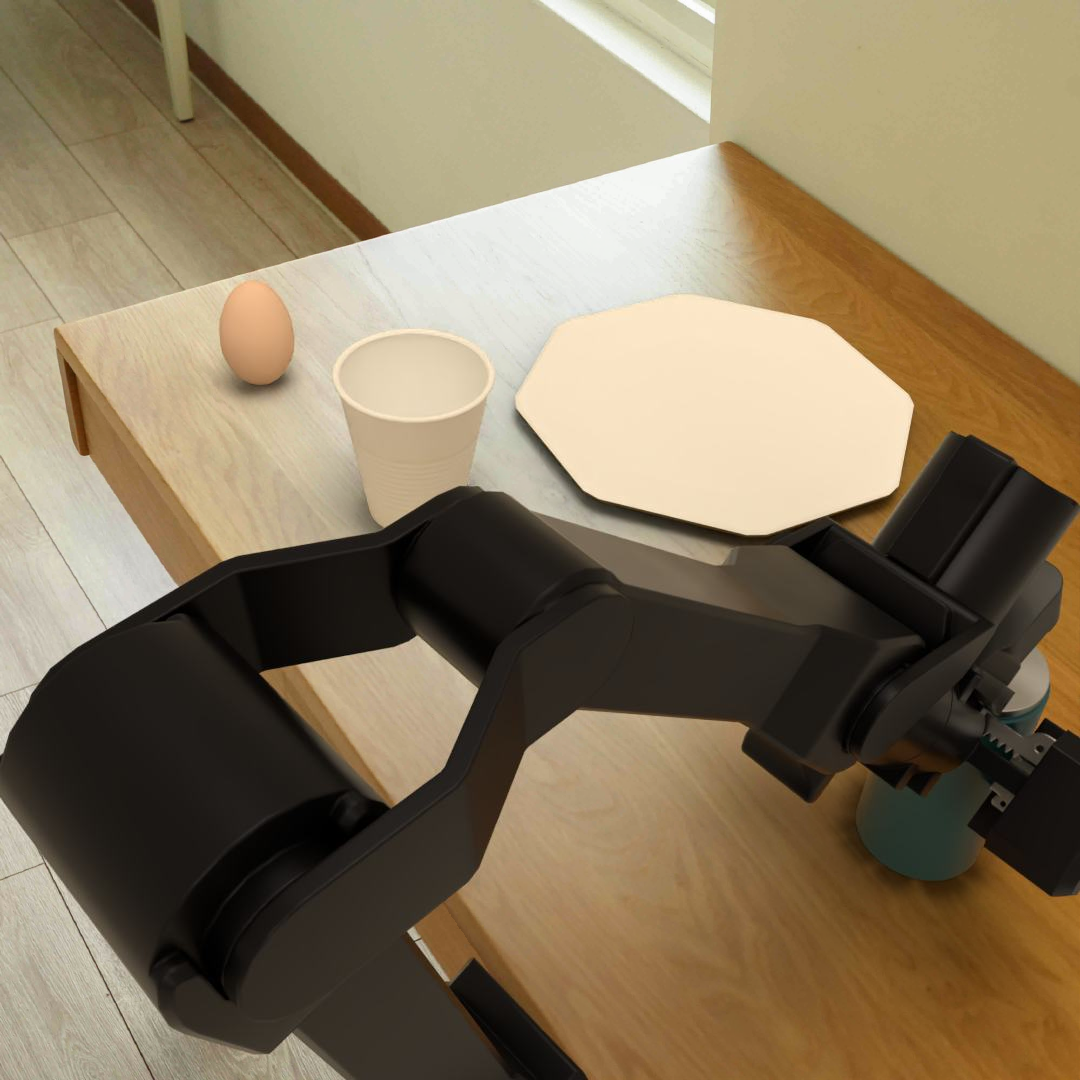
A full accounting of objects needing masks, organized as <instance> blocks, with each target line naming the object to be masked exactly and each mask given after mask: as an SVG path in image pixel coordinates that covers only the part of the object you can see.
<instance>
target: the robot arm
mask: <svg viewBox="0 0 1080 1080" xmlns="http://www.w3.org/2000/svg"><path fill="white" fill-rule="evenodd" d="M1079 514H1080V504H1079V502H1078V501H1076V500H1075V499H1074V498H1072V497H1071V496H1069V495H1067V494H1065V493H1063V492H1061V491H1060V490H1058V489H1056V488H1054V487H1052V486H1050V485H1049V484H1047V483H1046V482H1045V481H1043V480H1042V479H1040V478H1039V477H1038V476H1036V475H1034V474H1033V473H1031V472H1029V471H1028V470H1027V469H1025V468H1024V467H1022V466H1020V465H1019V464H1018V462H1017V460H1016V459H1015V458H1014V457H1013V456H1011V455H1009V454H1008V453H1006V452H1003V450H1000V449H999V448H997V447H995V446H994V445H991V444H990V443H987V442H986V441H984V440H983V439H981V438H979V437H977V436H975V435H974V434H972V433H970V434H968V435H966V436H965V435H962V434H960V433H957V432H955V431H953V430H950V431H948V432H947V434H946V435H945V437H944V438H943V439H942V441H941V442H940V443H939V445H938V446H937V448H936V450H934V452H933V454H932V455H931V456H930V458H929V459H928V461H926V464H924V467H922V469H921V471H920V472H919V473H918V475H917V476H916V478H914V481H913V482H912V483H911V485H910V486H909V487H908V489H907V490H906V491H905V493H904V495H903V496H902V498H901V499H900V500H899V502H898V504H896V506H895V507H894V509H893V510H892V512H891V513H890V514H889V516H888V517H887V519H886V520H885V522H884V523H883V524H882V526H881V528H880V529H879V530H878V532H877V533H876V534H875V536H874V537H873V538H872V540H871V542H868V541H866V540H865V539H863V538H862V537H860V536H858V535H857V534H856V533H854V532H852V531H851V530H849V529H848V528H846V527H845V526H843V525H842V524H840V523H839V522H837V521H835V520H834V519H832V518H831V517H830V516H829V517H827V516H825V517H823V518H821V519H819V520H817V521H814V522H811V523H808V524H806V525H804V527H801V528H799V529H798V530H796V531H793V532H792V533H791V532H790V531H789V530H784V531H783V532H780V533H777V534H776V535H775V536H774V537H773V538H771V539H770V540H768V541H767V542H765V543H764V544H763V545H740V546H739V545H738V546H736V547H735V546H734V547H732V548H731V549H730V551H729V552H728V554H727V556H726V557H725V559H724V561H723V562H722V563H721V565H720V564H719V565H716V564H711V563H707V562H705V561H702V560H698V559H694V558H692V557H688V556H684V555H682V554H677V553H675V552H671V551H667V550H664V549H661V548H657V547H654V546H651V545H647V544H645V543H641V542H638V541H635V540H630V539H628V538H624V537H621V536H618V535H615V534H611V533H607V532H604V531H601V530H597V529H594V528H590V527H588V526H585V525H580V524H577V523H575V522H574V523H573V522H570V521H567V520H564V519H560V518H557V517H554V516H550V515H547V514H545V513H540V512H538V511H534V510H531V509H529V508H528V507H526V506H525V505H524V504H523V503H521V502H520V501H519V500H517V499H516V498H515V497H514V496H512V495H511V494H508V493H506V492H504V491H495V490H492V491H491V490H484V489H483V488H482V487H480V486H479V485H467V486H458V487H455V488H453V489H451V490H448V491H446V492H444V493H441V494H439V495H437V496H435V497H434V498H432V499H430V500H429V501H427V502H425V503H424V504H422V505H421V506H419V507H417V508H416V509H414V510H413V511H411V512H409V513H408V514H406V515H405V516H403V517H401V518H400V519H398V520H396V521H395V522H393V523H392V524H390V525H388V526H387V527H385V528H384V527H383V528H382V529H379V530H378V531H375V532H369V533H363V534H357V535H351V536H346V537H340V538H334V539H327V540H323V541H317V542H309V543H305V544H299V545H293V546H287V547H282V548H275V549H269V550H264V551H258V552H252V553H246V554H241V555H236V556H234V557H230V558H228V559H225V560H223V561H222V560H221V561H220V562H219V563H216V564H215V565H213V566H211V567H209V568H208V569H207V570H205V571H203V572H201V573H200V574H198V575H196V576H195V577H193V578H191V579H190V580H188V581H186V582H184V583H183V584H181V585H179V586H178V587H176V588H174V589H173V590H171V591H169V592H168V593H166V594H165V595H163V596H161V597H160V598H158V599H156V600H154V601H153V602H150V603H149V604H147V605H146V606H144V607H142V608H140V609H139V610H137V611H136V612H134V613H132V614H131V615H129V616H128V617H126V618H124V619H123V620H121V621H119V622H117V623H116V624H114V625H112V626H111V627H109V628H107V629H106V630H104V631H102V632H100V633H99V634H97V635H95V636H93V637H92V638H90V639H89V640H87V641H85V642H83V643H82V644H80V645H78V646H77V647H76V648H74V649H73V650H72V651H70V652H69V653H68V654H67V655H65V656H64V657H62V658H61V659H60V660H59V661H57V662H56V663H55V664H53V665H52V666H51V667H50V668H49V669H48V671H47V672H45V675H44V676H43V677H42V679H41V680H40V682H39V683H38V684H37V685H36V687H35V688H34V690H33V691H32V692H31V694H30V696H29V699H28V702H27V704H26V705H25V707H24V709H23V710H22V712H21V714H20V715H19V717H18V718H17V719H16V721H15V723H14V724H13V726H12V727H11V729H10V731H9V732H8V736H7V739H6V742H5V745H4V750H3V752H2V753H0V799H1V801H2V802H3V804H4V805H5V807H6V808H7V810H8V811H9V812H10V814H11V815H12V817H13V818H14V820H15V821H16V822H17V823H18V825H19V826H20V828H21V829H22V830H23V832H24V833H25V834H26V836H27V837H28V838H29V840H30V841H31V843H32V844H33V845H34V846H35V848H36V849H37V850H38V852H39V854H41V855H42V857H43V859H44V860H45V861H46V862H47V864H48V865H49V867H50V868H51V869H52V870H53V872H54V873H55V875H56V876H57V877H58V879H59V880H60V881H61V883H62V884H63V885H64V887H65V888H66V889H67V891H68V893H70V894H71V896H72V897H73V899H74V900H75V902H76V903H77V904H78V906H79V907H80V908H81V909H82V911H83V912H84V914H85V915H86V916H87V918H88V919H89V920H90V922H91V923H92V925H94V927H95V928H96V930H97V931H98V932H99V934H100V935H101V936H102V938H103V939H104V941H105V942H106V943H107V945H108V946H109V947H110V948H111V950H112V951H113V953H114V954H115V956H116V957H117V958H118V960H119V961H120V962H121V964H122V965H123V966H124V967H125V968H126V970H127V971H128V973H129V974H130V975H131V977H132V978H133V979H134V981H135V982H136V983H137V985H138V986H139V988H140V989H141V990H142V991H143V993H144V994H145V995H146V997H147V998H148V1000H149V1001H150V1002H151V1004H152V1005H153V1007H154V1008H155V1009H156V1010H157V1012H158V1014H160V1016H161V1017H162V1019H163V1020H164V1021H165V1022H166V1024H167V1025H168V1027H170V1028H171V1029H172V1030H175V1031H176V1032H179V1033H181V1034H183V1035H185V1036H189V1037H193V1038H196V1039H200V1040H203V1041H206V1042H210V1043H213V1044H217V1045H219V1046H224V1047H227V1048H231V1049H234V1050H237V1051H241V1052H244V1053H247V1054H251V1055H270V1054H272V1053H273V1051H275V1050H276V1049H277V1048H278V1047H279V1046H280V1045H281V1044H282V1043H283V1042H284V1041H285V1040H286V1039H287V1038H289V1036H290V1035H291V1034H292V1035H294V1036H295V1037H296V1038H297V1039H298V1040H299V1041H301V1042H302V1043H303V1044H304V1045H305V1046H306V1047H307V1048H308V1049H310V1050H311V1051H312V1052H313V1053H315V1054H316V1056H318V1057H319V1058H320V1059H321V1060H323V1061H324V1062H325V1063H326V1064H327V1065H328V1066H329V1067H331V1069H333V1070H334V1071H335V1072H336V1073H337V1074H338V1075H339V1076H341V1077H342V1078H343V1079H344V1080H589V1078H588V1076H587V1075H586V1073H585V1072H584V1071H583V1070H582V1068H581V1067H580V1066H578V1064H577V1063H576V1062H575V1061H574V1060H573V1059H572V1058H571V1057H570V1056H569V1054H567V1053H566V1051H565V1050H564V1049H562V1048H561V1046H560V1045H559V1044H558V1043H557V1042H556V1041H555V1040H554V1039H553V1038H552V1037H551V1036H550V1035H549V1034H548V1033H547V1032H546V1031H545V1029H544V1028H542V1026H541V1025H540V1024H539V1023H537V1021H536V1020H535V1019H534V1018H533V1017H532V1016H531V1015H530V1014H529V1013H528V1012H527V1011H526V1010H525V1008H523V1007H522V1006H521V1004H520V1003H519V1002H517V1000H516V999H515V998H514V997H513V996H512V995H511V994H510V993H509V992H508V991H507V990H506V989H505V988H504V986H502V984H501V983H499V981H498V980H497V979H496V978H495V977H494V976H493V975H492V974H491V973H490V972H489V970H487V969H486V968H485V966H483V965H482V963H480V962H479V960H478V959H477V958H476V957H475V956H473V957H470V958H468V960H467V961H466V962H464V964H463V966H462V967H461V968H460V969H459V970H458V971H457V973H455V975H454V976H452V978H451V979H450V980H444V979H443V977H442V976H441V974H440V973H439V971H437V969H436V968H435V966H434V965H433V964H432V962H431V961H430V959H429V958H428V957H427V956H426V954H425V953H424V952H423V950H422V949H421V948H420V946H419V945H418V944H417V942H416V941H415V940H414V938H413V937H412V936H411V934H410V933H409V932H408V931H409V930H411V929H412V928H413V927H415V926H416V925H417V924H419V922H421V921H422V920H424V919H425V918H426V917H427V916H428V915H430V913H432V912H433V911H435V909H437V908H438V907H439V906H440V905H442V904H443V903H445V902H446V901H447V900H448V899H449V898H451V897H452V896H453V895H454V894H455V893H457V892H458V891H460V890H461V889H462V888H463V887H465V885H467V884H468V883H469V882H470V881H471V879H472V878H473V877H474V875H476V873H477V872H478V871H479V869H480V867H481V864H482V862H483V860H484V857H485V854H486V853H487V849H488V846H489V844H490V841H491V839H492V837H493V833H494V831H495V829H496V826H497V824H498V821H499V819H500V816H501V813H502V810H503V808H504V806H505V803H506V801H507V798H508V796H509V793H510V790H511V788H512V786H513V783H514V781H515V778H516V775H517V772H518V771H519V767H520V765H521V763H522V760H523V757H524V755H525V752H526V751H527V750H528V748H529V747H531V746H532V745H533V744H535V743H536V742H537V741H538V740H540V739H541V738H542V737H544V736H545V735H546V734H547V733H549V732H550V731H552V730H553V729H554V728H556V727H557V726H558V725H560V724H561V723H562V722H564V721H565V720H566V719H568V717H570V716H571V715H573V714H574V713H575V712H577V711H584V712H585V711H587V712H599V713H611V714H612V713H613V714H625V715H636V716H637V715H639V716H650V717H664V718H677V719H689V720H702V721H703V720H704V721H715V722H726V723H727V722H729V723H738V724H741V725H743V726H745V727H746V728H748V729H747V731H746V732H745V734H744V737H743V739H742V740H743V741H742V743H741V746H740V750H741V752H742V753H743V754H744V755H746V756H747V757H748V758H749V759H750V760H752V761H753V762H754V763H755V764H757V765H758V766H760V768H762V769H763V770H765V771H766V772H767V773H768V774H770V775H771V776H772V777H773V778H774V779H776V780H777V781H778V782H779V783H781V784H782V785H783V786H784V787H786V788H787V789H788V790H790V791H791V792H792V793H793V794H795V795H796V796H797V797H798V798H799V799H800V800H802V801H804V802H805V803H806V804H814V803H815V802H816V801H817V800H818V799H819V797H821V795H822V794H823V792H824V791H825V790H826V788H827V787H828V785H829V784H830V783H831V781H832V780H833V779H834V777H835V775H836V774H839V773H842V772H845V771H846V770H848V769H850V768H852V767H853V766H855V764H857V762H858V763H859V764H861V765H862V766H864V767H865V768H867V769H868V771H869V770H870V771H872V772H873V773H874V774H876V775H877V776H878V777H880V778H881V779H882V780H884V781H885V782H886V783H888V784H889V785H890V786H892V787H893V788H894V789H897V790H900V791H902V790H903V788H904V787H905V785H906V786H907V787H909V788H910V789H911V790H913V791H914V792H915V793H917V794H918V795H919V796H922V797H925V798H926V796H927V795H928V794H929V792H930V791H931V789H932V788H933V787H934V785H935V784H936V783H937V781H938V780H939V778H940V777H941V776H942V774H943V773H948V772H950V771H952V770H954V769H956V768H957V767H959V766H960V765H961V764H963V763H964V762H965V761H967V762H969V763H970V764H971V765H973V766H974V767H976V768H977V769H978V770H980V771H981V772H983V773H984V774H985V775H987V776H988V777H990V778H991V779H992V780H994V783H993V784H992V785H991V787H990V789H991V790H992V791H991V793H990V794H989V795H988V797H987V798H986V800H985V801H984V802H983V804H982V805H981V806H980V808H979V809H978V811H977V812H976V813H975V815H974V816H973V817H972V819H971V820H970V822H969V823H968V824H967V826H968V827H969V828H970V829H972V830H973V831H974V832H976V833H977V834H978V835H980V836H981V837H982V838H984V839H985V842H984V844H983V846H982V847H983V848H985V849H986V850H988V851H989V852H990V853H992V854H993V855H994V856H996V857H997V858H998V859H999V860H1001V861H1002V862H1004V864H1006V865H1007V866H1009V867H1010V868H1012V869H1013V870H1015V871H1016V872H1017V873H1018V874H1020V876H1023V878H1025V879H1026V880H1027V881H1029V882H1030V883H1031V884H1033V885H1034V886H1036V887H1037V888H1039V889H1040V891H1042V892H1044V893H1045V894H1046V895H1048V896H1049V897H1051V898H1062V897H1071V896H1078V895H1079V893H1080V736H1079V735H1077V734H1075V733H1074V732H1073V731H1072V730H1069V729H1067V730H1065V729H1064V728H1063V727H1061V726H1059V724H1056V723H1055V722H1053V721H1052V720H1050V719H1049V718H1047V717H1044V718H1043V720H1042V721H1041V722H1040V724H1039V725H1037V727H1036V728H1035V730H1034V733H1033V734H1032V735H1030V736H1028V737H1023V736H1022V735H1020V734H1019V733H1017V732H1016V731H1014V730H1013V729H1011V728H1010V727H1008V726H1007V725H1005V724H1004V723H1002V722H1001V721H1000V720H998V719H997V718H995V717H994V716H992V715H991V714H989V713H988V711H990V712H991V713H993V714H994V715H996V716H999V715H1000V714H1001V712H1002V711H1003V709H1004V708H1005V707H1006V705H1007V704H1008V702H1009V701H1010V700H1011V698H1012V697H1013V695H1014V694H1015V692H1014V691H1013V690H1011V689H1010V688H1008V687H1007V686H1008V685H1009V684H1010V682H1011V681H1012V680H1013V678H1014V677H1015V676H1016V674H1017V673H1018V671H1019V670H1020V668H1021V663H1022V662H1023V661H1024V659H1025V658H1026V657H1027V656H1028V655H1029V654H1030V652H1031V651H1032V650H1033V649H1034V648H1035V647H1037V646H1038V645H1039V643H1040V642H1041V641H1042V640H1043V638H1044V637H1046V635H1047V634H1048V633H1050V632H1051V631H1052V630H1053V629H1054V628H1055V626H1056V625H1057V624H1058V622H1059V619H1060V614H1061V605H1062V597H1063V588H1064V577H1063V574H1062V572H1061V570H1060V569H1059V568H1058V567H1057V566H1056V565H1054V564H1053V563H1051V562H1050V561H1048V560H1047V558H1048V557H1049V556H1050V554H1051V553H1052V552H1053V550H1054V549H1055V548H1056V546H1057V545H1058V543H1060V541H1061V540H1062V538H1063V537H1064V535H1065V533H1067V531H1068V530H1069V528H1070V527H1071V525H1072V524H1073V523H1074V522H1075V520H1076V518H1077V517H1078V516H1079ZM417 636H418V637H419V638H420V639H421V640H422V641H423V642H425V643H426V644H427V645H428V646H429V647H430V648H431V649H432V650H434V651H435V653H437V654H438V655H439V656H440V657H441V658H443V659H444V660H445V661H446V662H447V663H448V664H449V665H450V666H451V667H453V668H454V669H455V670H456V671H457V672H458V673H460V674H461V675H462V677H464V678H465V679H467V680H468V681H469V682H470V683H471V684H472V685H473V686H474V687H476V688H477V692H476V694H475V696H474V699H473V701H472V703H471V705H470V708H469V710H468V712H467V715H466V717H465V719H464V722H463V723H462V726H461V728H460V731H459V733H458V735H457V738H456V740H455V742H454V744H453V747H452V749H451V751H450V753H449V756H448V758H447V760H446V762H445V765H444V767H443V768H442V769H441V771H440V772H438V773H437V774H435V775H434V776H433V777H431V778H430V779H429V780H427V781H426V782H424V783H423V784H422V785H420V786H419V787H418V788H417V789H415V790H413V792H411V793H410V794H408V795H407V796H406V797H405V798H403V799H402V800H400V801H399V802H398V803H396V804H395V805H394V806H391V805H390V804H389V803H388V802H387V801H386V799H384V798H383V797H382V796H381V795H380V794H379V792H378V791H376V790H375V789H374V788H373V787H372V785H370V784H369V783H368V782H367V781H366V780H365V779H364V777H363V776H362V775H360V774H359V772H358V771H356V770H355V768H353V766H351V764H349V762H348V761H347V760H346V759H344V757H343V756H342V755H341V754H340V753H339V752H338V751H337V750H336V749H334V747H332V745H331V744H330V742H328V741H327V740H326V739H325V738H324V737H323V736H322V735H321V734H320V733H319V732H318V731H317V730H316V729H315V728H314V727H313V726H312V725H311V724H310V723H309V722H308V721H307V720H306V719H305V718H304V717H303V716H302V714H300V713H299V712H298V711H297V709H295V708H294V707H293V706H292V704H290V703H289V702H288V701H287V699H286V698H284V697H283V696H282V695H281V694H280V693H279V692H278V691H277V690H276V689H275V688H274V686H272V685H271V683H270V682H269V681H267V679H266V678H265V677H264V676H262V674H261V673H263V672H266V671H271V670H276V669H277V670H278V669H282V668H287V667H293V666H298V665H299V666H300V665H304V664H309V663H315V662H321V661H327V660H331V659H337V658H342V657H343V658H344V657H347V656H353V655H359V654H365V653H370V652H374V651H380V650H387V649H392V648H395V647H398V646H400V645H403V644H405V643H409V642H410V641H412V640H413V639H415V638H416V637H417ZM990 734H991V735H990ZM988 735H990V738H989V741H990V742H991V743H993V742H995V741H996V740H998V742H997V747H998V748H1001V747H1003V746H1004V745H1006V747H1005V750H1004V752H1005V753H1007V754H1008V753H1009V752H1011V751H1012V750H1014V751H1013V755H1012V758H1011V759H1010V761H1007V760H1006V759H1004V758H1003V757H1002V756H1000V755H999V754H997V753H996V752H994V751H993V750H992V749H990V748H989V747H987V746H986V745H984V744H983V743H982V742H980V740H981V737H984V738H985V737H987V736H988Z"/></svg>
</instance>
